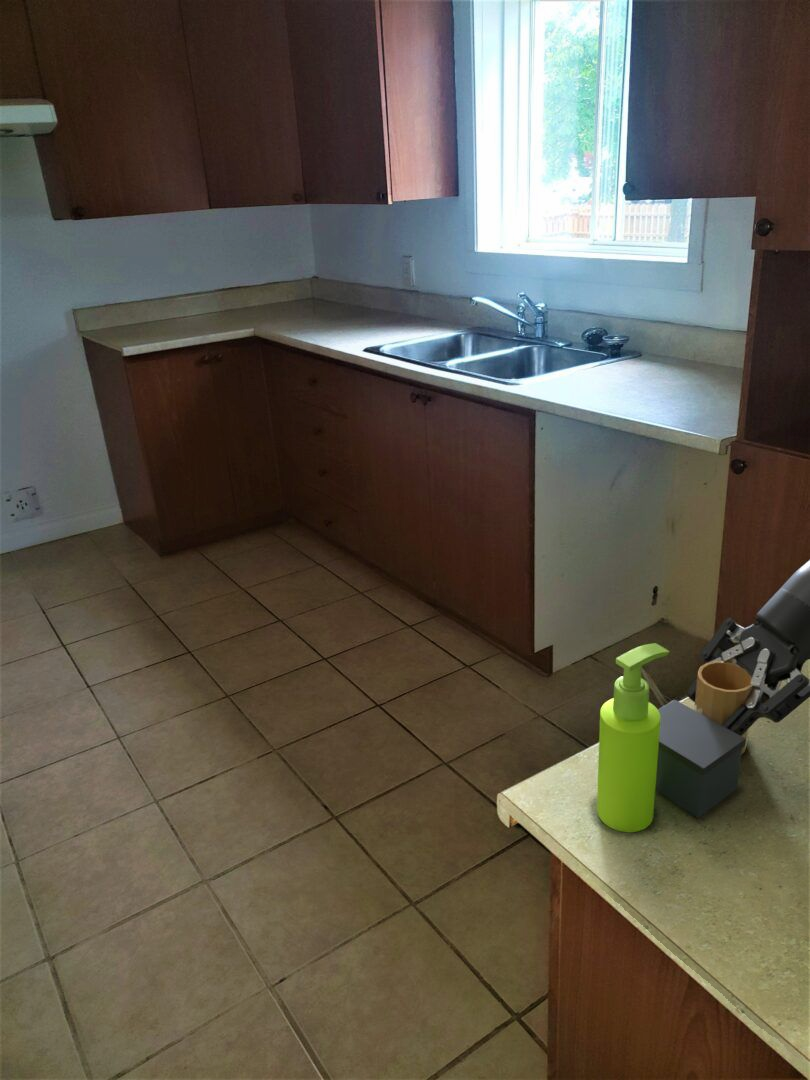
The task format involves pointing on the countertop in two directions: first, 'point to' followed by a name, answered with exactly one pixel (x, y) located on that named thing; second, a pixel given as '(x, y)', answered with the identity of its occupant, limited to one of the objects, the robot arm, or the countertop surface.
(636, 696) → the soap dispenser
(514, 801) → the countertop surface
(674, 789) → the dark grey box
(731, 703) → the cup
